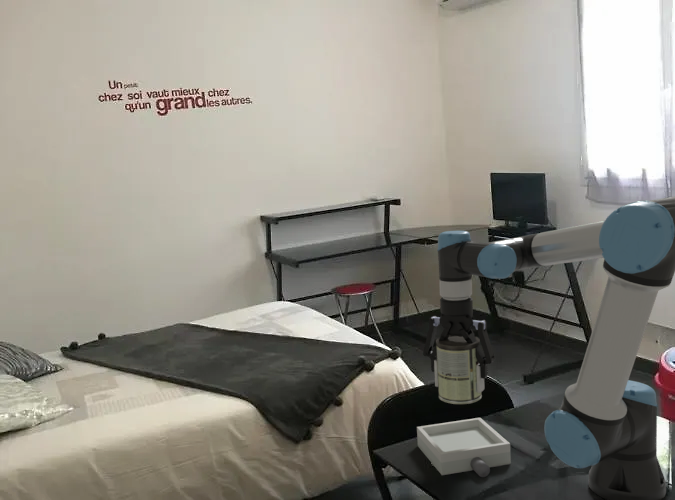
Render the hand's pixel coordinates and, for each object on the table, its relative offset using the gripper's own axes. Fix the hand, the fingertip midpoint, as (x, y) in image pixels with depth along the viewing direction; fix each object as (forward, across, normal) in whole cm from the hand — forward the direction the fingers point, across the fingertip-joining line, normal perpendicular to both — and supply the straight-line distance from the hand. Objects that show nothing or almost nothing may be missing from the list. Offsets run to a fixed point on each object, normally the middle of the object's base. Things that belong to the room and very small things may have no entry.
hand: (459, 387), depth 166 cm
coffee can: (+3, 0, 0) cm, 3 cm away
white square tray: (+17, -2, +2) cm, 17 cm away
